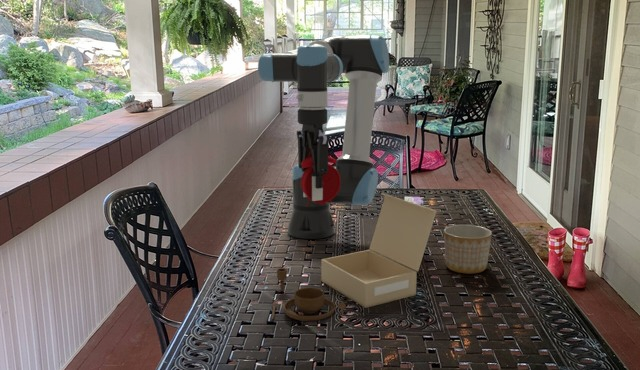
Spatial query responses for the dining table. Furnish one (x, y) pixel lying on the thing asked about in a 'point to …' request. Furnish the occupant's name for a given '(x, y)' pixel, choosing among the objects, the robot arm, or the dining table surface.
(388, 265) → the box
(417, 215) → the lid
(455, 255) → the planter
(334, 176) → the alarm clock
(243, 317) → the dining table surface
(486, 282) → the dining table surface
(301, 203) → the robot arm
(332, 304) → the place setting
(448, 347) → the dining table surface
